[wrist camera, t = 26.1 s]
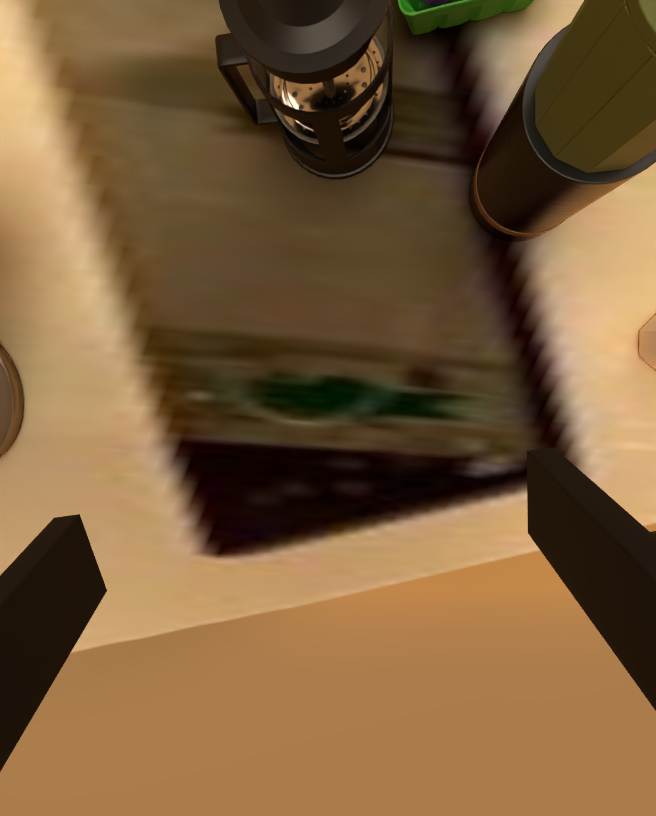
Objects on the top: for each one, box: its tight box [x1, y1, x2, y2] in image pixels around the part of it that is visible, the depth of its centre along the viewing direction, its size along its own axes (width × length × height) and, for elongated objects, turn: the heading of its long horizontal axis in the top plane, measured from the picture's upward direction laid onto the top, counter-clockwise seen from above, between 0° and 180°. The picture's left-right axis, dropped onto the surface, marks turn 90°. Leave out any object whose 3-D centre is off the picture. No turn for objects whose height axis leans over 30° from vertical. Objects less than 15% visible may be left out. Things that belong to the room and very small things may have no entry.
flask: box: [469, 24, 656, 241], centre depth 30 cm, size 8×8×20 cm
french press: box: [215, 0, 394, 179], centre depth 30 cm, size 12×9×23 cm
